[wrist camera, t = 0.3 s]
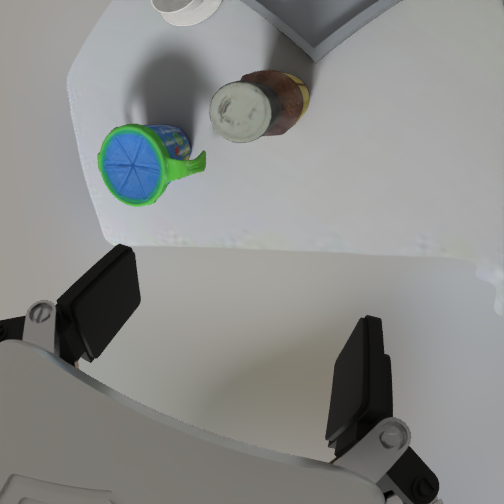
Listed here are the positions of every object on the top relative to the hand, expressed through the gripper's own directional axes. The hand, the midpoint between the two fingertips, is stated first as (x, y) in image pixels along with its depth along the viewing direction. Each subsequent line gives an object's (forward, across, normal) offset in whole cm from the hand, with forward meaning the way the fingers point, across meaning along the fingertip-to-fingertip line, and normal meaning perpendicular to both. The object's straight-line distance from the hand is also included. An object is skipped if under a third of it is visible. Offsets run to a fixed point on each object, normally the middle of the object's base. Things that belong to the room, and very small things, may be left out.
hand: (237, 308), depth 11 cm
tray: (+29, +2, -22) cm, 37 cm away
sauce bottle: (+29, +4, -6) cm, 30 cm away
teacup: (+29, +19, -21) cm, 41 cm away
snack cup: (+30, +20, +3) cm, 36 cm away
